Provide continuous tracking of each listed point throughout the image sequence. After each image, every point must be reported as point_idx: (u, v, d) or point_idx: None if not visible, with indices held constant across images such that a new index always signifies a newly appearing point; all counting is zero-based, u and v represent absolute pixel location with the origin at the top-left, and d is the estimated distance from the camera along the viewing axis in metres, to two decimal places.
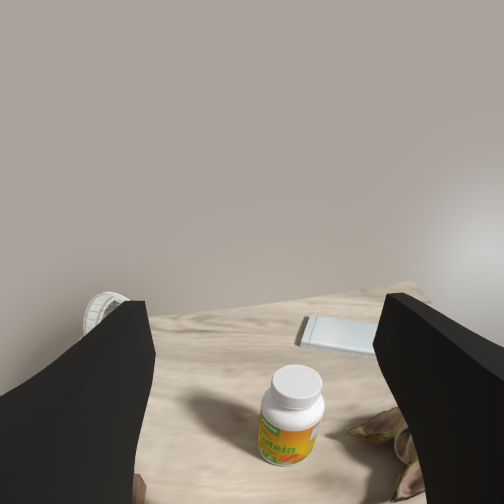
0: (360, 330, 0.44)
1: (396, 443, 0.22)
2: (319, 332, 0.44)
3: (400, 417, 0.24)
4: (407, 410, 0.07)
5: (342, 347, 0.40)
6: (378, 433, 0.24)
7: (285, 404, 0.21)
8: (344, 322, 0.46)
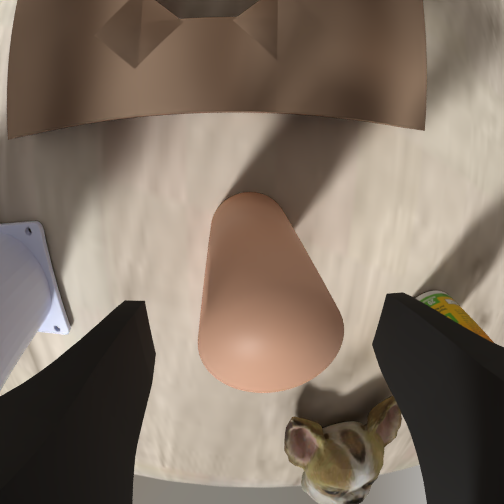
0: None
1: (357, 434, 0.21)
2: None
3: (381, 445, 0.21)
4: (407, 410, 0.07)
5: None
6: (381, 421, 0.21)
7: None
8: None
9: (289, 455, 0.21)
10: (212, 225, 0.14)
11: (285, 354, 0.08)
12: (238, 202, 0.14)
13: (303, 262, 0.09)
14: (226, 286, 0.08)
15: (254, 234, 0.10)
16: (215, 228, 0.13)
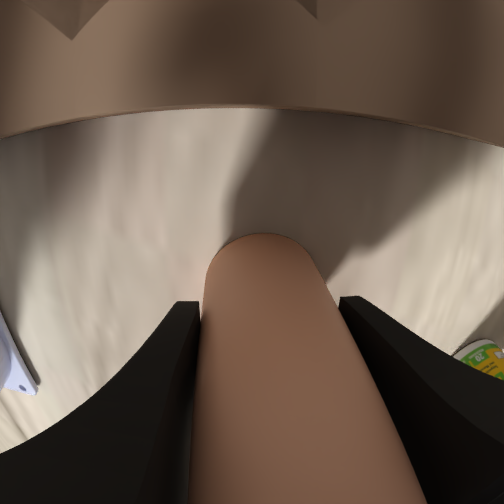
0: None
1: None
2: None
3: None
4: None
5: None
6: None
7: None
8: None
9: None
10: (206, 291, 0.09)
11: None
12: (247, 258, 0.09)
13: (382, 439, 0.04)
14: None
15: (282, 363, 0.05)
16: (210, 308, 0.08)
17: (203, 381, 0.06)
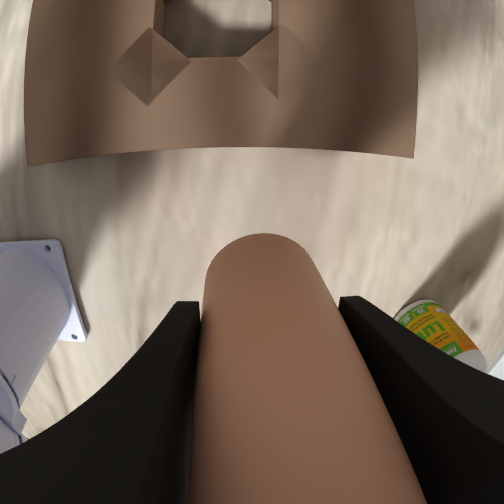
0: None
1: None
2: None
3: None
4: None
5: None
6: None
7: None
8: None
9: None
10: (206, 292, 0.09)
11: None
12: (247, 258, 0.09)
13: (382, 439, 0.04)
14: None
15: (283, 364, 0.05)
16: (210, 308, 0.08)
17: (203, 381, 0.06)
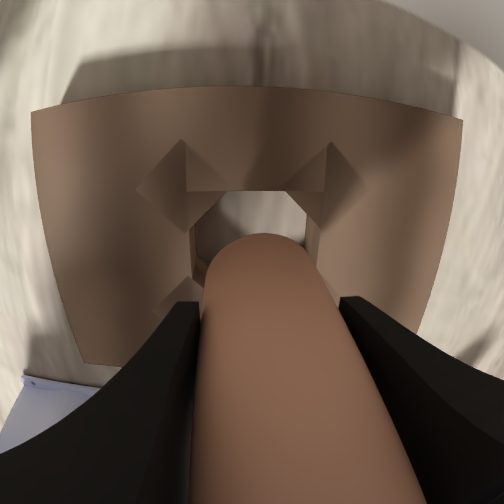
0: None
1: None
2: None
3: None
4: None
5: None
6: None
7: None
8: None
9: None
10: (206, 292, 0.09)
11: None
12: (247, 258, 0.09)
13: (382, 440, 0.04)
14: None
15: (283, 365, 0.05)
16: (210, 308, 0.08)
17: (203, 382, 0.06)
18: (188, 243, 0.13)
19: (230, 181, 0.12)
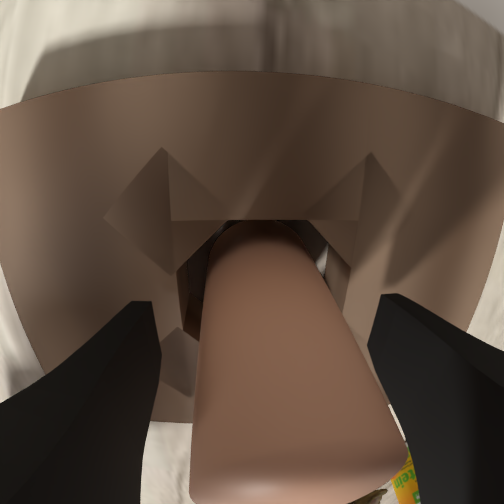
0: None
1: None
2: None
3: None
4: (401, 411, 0.07)
5: None
6: None
7: None
8: None
9: None
10: (209, 268, 0.10)
11: (319, 495, 0.04)
12: (245, 238, 0.10)
13: (356, 370, 0.05)
14: (231, 433, 0.04)
15: (273, 310, 0.06)
16: (213, 278, 0.09)
17: (207, 332, 0.07)
18: (176, 288, 0.10)
19: (231, 207, 0.09)
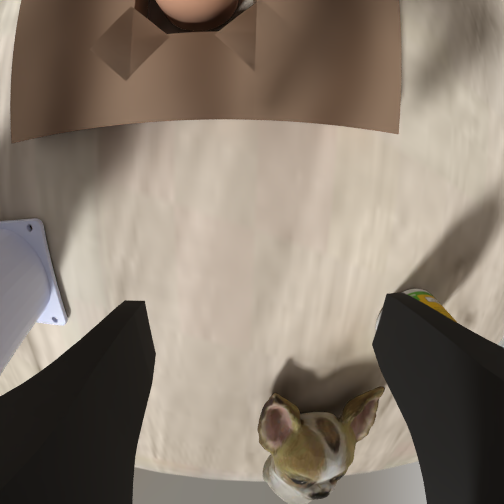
0: None
1: (333, 423, 0.22)
2: None
3: (354, 439, 0.22)
4: (407, 410, 0.07)
5: None
6: (357, 413, 0.22)
7: None
8: None
9: (261, 436, 0.22)
10: None
11: None
12: None
13: None
14: None
15: None
16: None
17: None
18: None
19: None
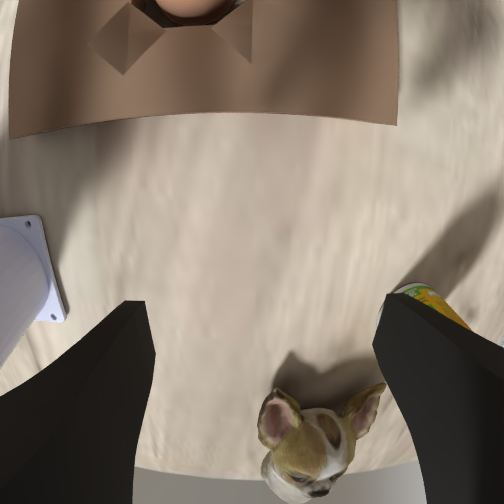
0: None
1: (333, 420, 0.22)
2: None
3: (354, 436, 0.21)
4: (407, 410, 0.07)
5: None
6: (359, 410, 0.22)
7: None
8: None
9: (261, 432, 0.21)
10: None
11: None
12: None
13: None
14: None
15: None
16: None
17: None
18: None
19: None
